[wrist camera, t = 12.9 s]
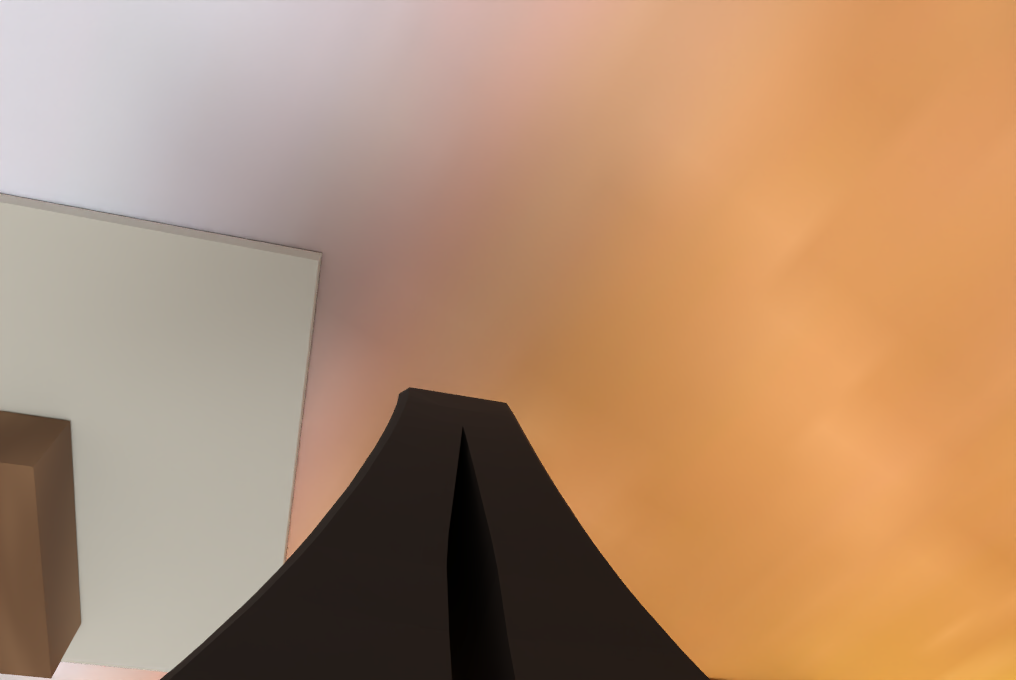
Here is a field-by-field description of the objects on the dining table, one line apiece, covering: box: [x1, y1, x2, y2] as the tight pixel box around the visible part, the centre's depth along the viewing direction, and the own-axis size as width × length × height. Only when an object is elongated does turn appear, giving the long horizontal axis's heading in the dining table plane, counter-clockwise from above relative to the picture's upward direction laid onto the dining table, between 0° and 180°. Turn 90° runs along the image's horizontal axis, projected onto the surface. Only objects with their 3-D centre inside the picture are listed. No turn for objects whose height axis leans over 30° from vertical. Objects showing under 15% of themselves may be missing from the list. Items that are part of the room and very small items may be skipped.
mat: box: [0, 194, 322, 672], centre depth 21 cm, size 16×16×1 cm
